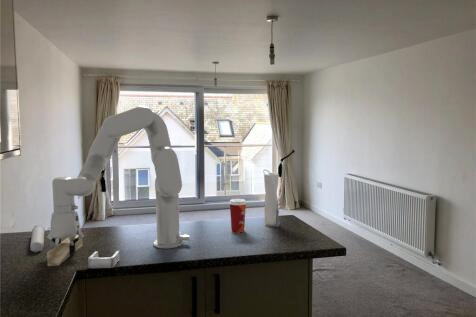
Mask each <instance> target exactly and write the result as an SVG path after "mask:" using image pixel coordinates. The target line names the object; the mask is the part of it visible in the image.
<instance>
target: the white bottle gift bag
mask: <svg viewBox="0 0 476 317" xmlns="http://www.w3.org/2000/svg"><path fill="white" fill-rule="evenodd" d="M265 172H267V173H265ZM263 177H264V178H263V179H264V191H265V196H264V227H270V228H279V227H280V225H281V223H280V218H279V217H280V216H279V214H280V210H279V203H278V202H279V201H278V193H277V192H278V187H279V177H280V174H279V173H278V172H276V171H271V172H270V171H269V170H268V169H263Z"/></svg>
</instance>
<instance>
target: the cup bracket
mask: <svg viewBox="0 0 476 317" xmlns="http://www.w3.org/2000/svg"><path fill="white" fill-rule="evenodd" d="M120 258H121V257H120V250H117V251H115V252H114V254H113V255H112V256H111V257H110V256H109V257H99V251H94V252H93V253H92V254H90V256H88V258H87V266H88V269H111V268H112V269H114V268H115V267H116V266H117V264H118V263H119V262H118V261H120V260H121V259H120ZM117 262H118V263H117Z"/></svg>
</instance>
